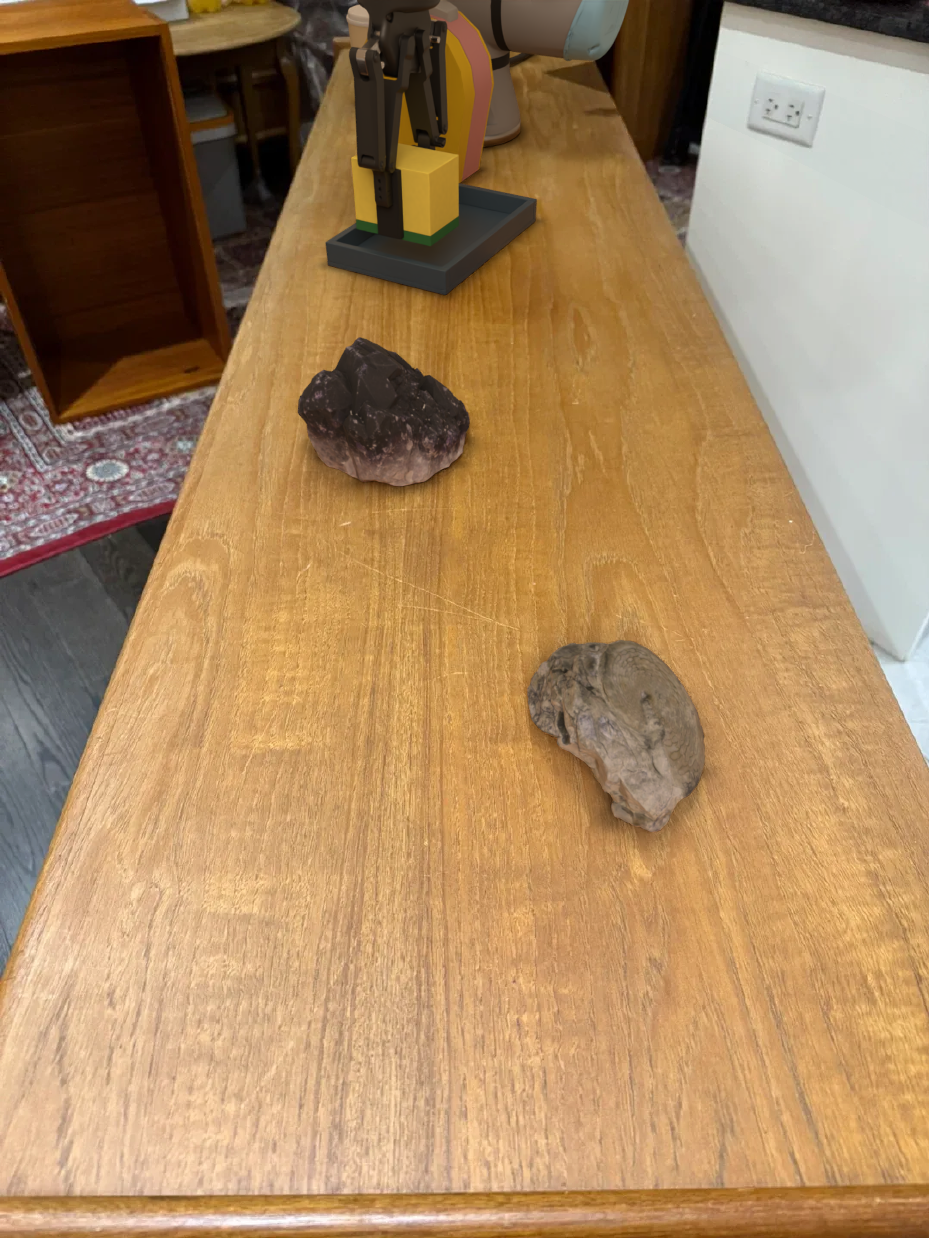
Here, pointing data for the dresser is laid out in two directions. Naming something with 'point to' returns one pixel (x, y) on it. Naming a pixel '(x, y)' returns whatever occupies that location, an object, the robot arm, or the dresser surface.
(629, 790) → the fossilized seashell
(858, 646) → the dresser surface
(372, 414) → the crystal cluster
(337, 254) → the tray
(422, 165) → the sponge
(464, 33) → the yellow arched slab
